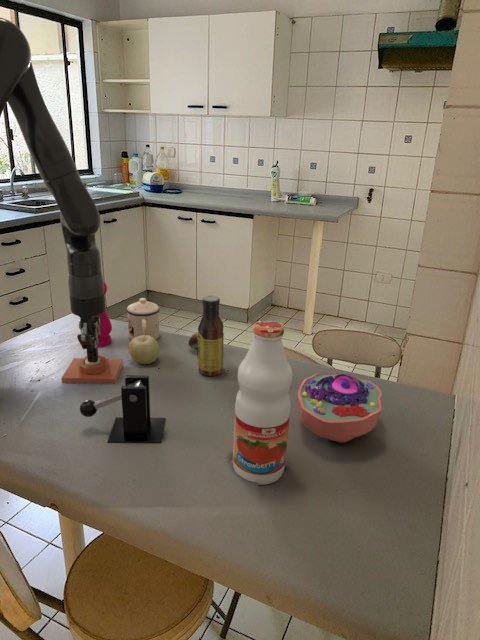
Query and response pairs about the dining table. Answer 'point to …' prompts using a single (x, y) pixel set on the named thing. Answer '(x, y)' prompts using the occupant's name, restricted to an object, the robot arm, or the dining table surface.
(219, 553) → the dining table surface
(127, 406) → the bracket
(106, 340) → the pepper mill
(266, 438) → the fruit juice
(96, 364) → the button
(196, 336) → the mushroom
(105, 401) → the tap lever
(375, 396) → the cell model
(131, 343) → the fruit
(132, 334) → the teacup with lid
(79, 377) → the tiered orange pedestal
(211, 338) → the sauce bottle
